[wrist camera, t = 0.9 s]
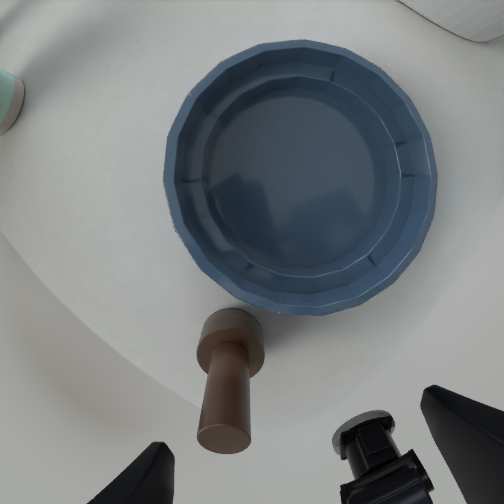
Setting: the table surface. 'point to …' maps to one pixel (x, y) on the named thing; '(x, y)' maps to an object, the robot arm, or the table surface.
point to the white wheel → (464, 16)
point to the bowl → (300, 177)
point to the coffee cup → (9, 99)
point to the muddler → (228, 379)
